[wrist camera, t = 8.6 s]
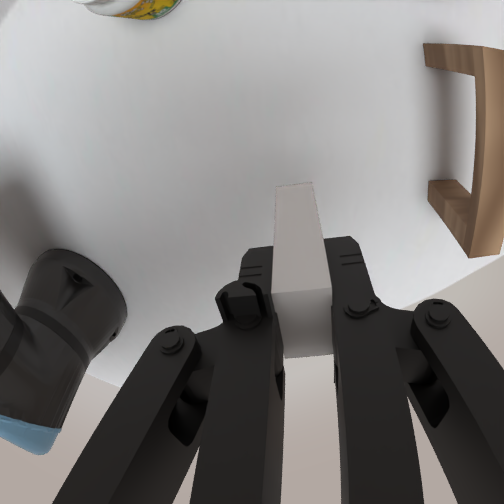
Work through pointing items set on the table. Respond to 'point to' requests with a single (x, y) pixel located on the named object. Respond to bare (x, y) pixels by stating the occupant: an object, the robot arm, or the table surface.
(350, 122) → the table surface
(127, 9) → the supplement bottle
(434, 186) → the bridge
